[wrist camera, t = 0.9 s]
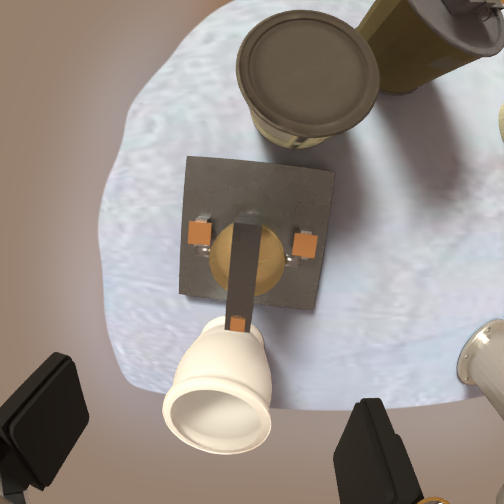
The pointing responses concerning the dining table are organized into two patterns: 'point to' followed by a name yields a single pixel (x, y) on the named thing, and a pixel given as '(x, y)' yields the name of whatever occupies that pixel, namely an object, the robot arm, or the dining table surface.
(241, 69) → the coffee can
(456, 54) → the canister
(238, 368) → the jar
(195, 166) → the lever latch plate
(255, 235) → the latch lever
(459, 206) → the dining table surface
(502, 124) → the reusable coffee cup
